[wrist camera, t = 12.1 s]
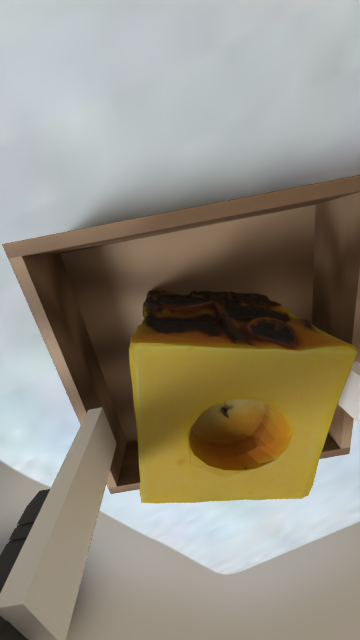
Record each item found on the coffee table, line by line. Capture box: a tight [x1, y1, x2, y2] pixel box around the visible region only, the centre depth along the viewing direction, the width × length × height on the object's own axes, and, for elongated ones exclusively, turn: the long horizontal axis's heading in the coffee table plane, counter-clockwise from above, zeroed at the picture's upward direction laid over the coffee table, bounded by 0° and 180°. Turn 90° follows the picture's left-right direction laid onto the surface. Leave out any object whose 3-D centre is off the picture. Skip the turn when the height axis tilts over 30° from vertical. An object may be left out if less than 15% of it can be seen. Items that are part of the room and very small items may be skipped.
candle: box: [129, 290, 357, 503], centre depth 15 cm, size 10×10×10 cm
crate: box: [2, 175, 360, 494], centre depth 18 cm, size 22×22×6 cm
